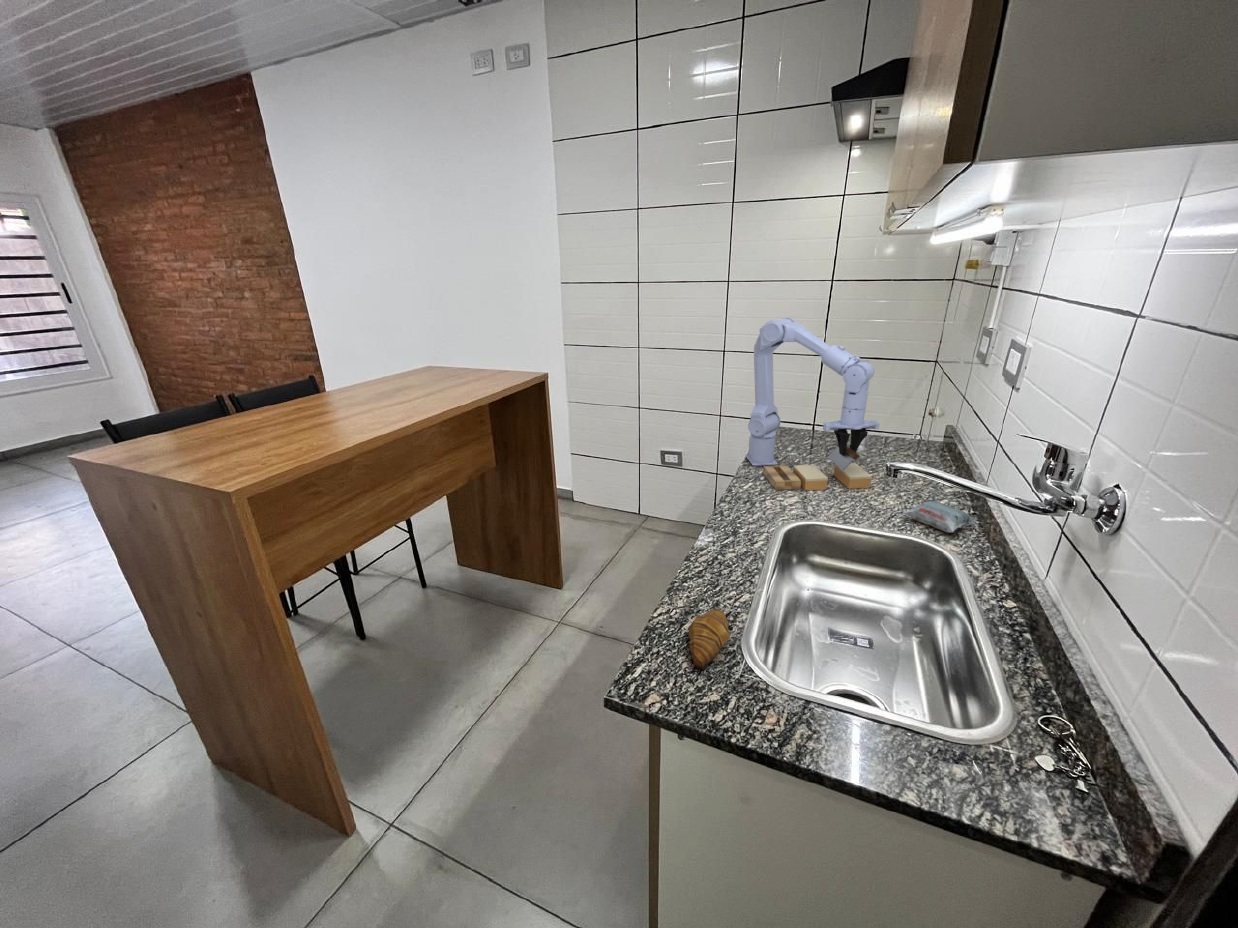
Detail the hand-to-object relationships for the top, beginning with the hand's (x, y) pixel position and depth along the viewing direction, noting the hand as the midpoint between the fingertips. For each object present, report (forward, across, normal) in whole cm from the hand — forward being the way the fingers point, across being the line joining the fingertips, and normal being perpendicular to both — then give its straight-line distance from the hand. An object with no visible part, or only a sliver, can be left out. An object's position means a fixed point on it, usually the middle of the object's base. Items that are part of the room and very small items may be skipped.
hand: (846, 454), depth 135 cm
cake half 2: (+8, +2, 0) cm, 9 cm away
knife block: (+8, -17, +2) cm, 19 cm away
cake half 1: (+8, -10, 0) cm, 13 cm away
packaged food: (+8, +10, -27) cm, 30 cm away
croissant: (+8, -50, -62) cm, 80 cm away
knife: (+3, -3, 0) cm, 4 cm away
